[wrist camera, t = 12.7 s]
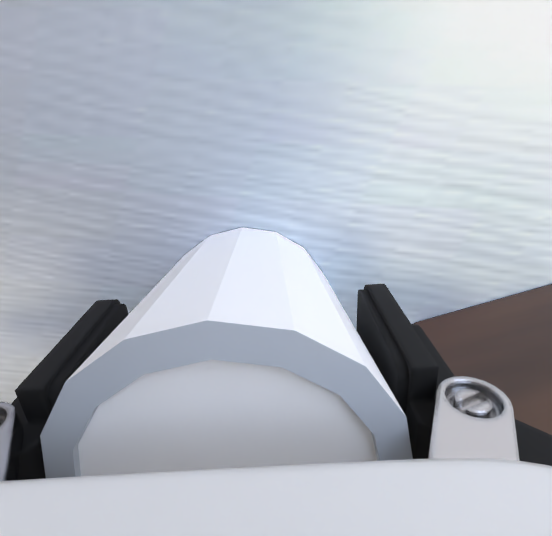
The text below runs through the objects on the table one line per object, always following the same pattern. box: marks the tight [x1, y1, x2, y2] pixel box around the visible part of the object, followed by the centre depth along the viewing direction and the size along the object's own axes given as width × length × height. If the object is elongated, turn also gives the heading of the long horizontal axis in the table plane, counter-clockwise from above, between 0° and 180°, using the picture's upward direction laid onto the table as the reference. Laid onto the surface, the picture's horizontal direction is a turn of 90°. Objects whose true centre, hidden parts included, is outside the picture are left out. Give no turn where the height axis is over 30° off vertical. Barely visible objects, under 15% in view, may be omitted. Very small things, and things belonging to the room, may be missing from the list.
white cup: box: [40, 227, 413, 478], centre depth 10 cm, size 7×7×7 cm
